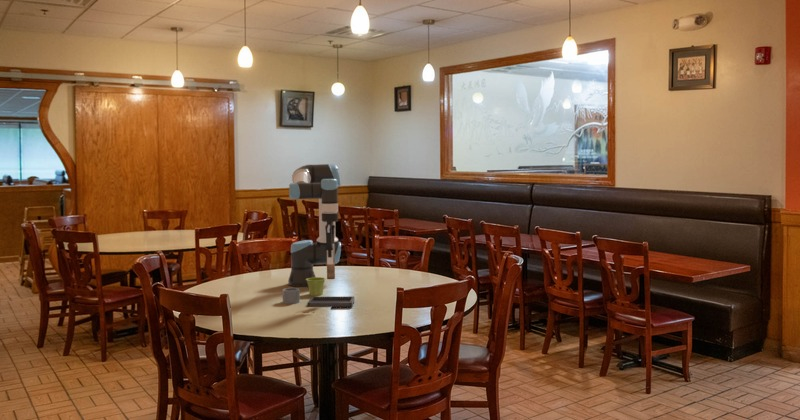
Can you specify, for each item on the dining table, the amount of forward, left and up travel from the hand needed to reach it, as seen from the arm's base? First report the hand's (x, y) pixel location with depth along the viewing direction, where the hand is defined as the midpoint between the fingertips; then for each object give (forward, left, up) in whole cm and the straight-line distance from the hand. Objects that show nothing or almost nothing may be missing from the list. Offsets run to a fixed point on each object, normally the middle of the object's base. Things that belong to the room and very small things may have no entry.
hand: (330, 263), depth 310 cm
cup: (-2, -19, -19) cm, 27 cm away
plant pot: (-20, -10, -20) cm, 30 cm away
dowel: (0, 0, -7) cm, 7 cm away
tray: (0, 0, -19) cm, 19 cm away
